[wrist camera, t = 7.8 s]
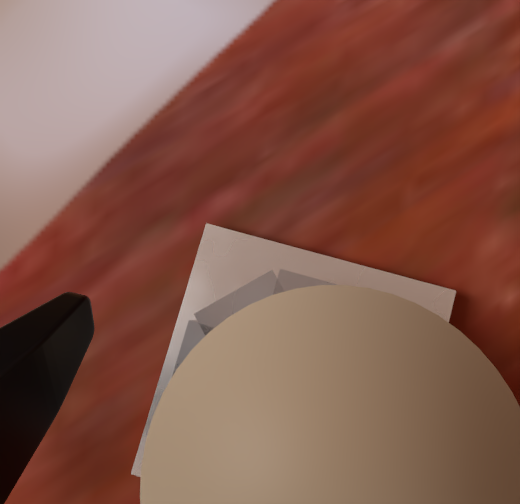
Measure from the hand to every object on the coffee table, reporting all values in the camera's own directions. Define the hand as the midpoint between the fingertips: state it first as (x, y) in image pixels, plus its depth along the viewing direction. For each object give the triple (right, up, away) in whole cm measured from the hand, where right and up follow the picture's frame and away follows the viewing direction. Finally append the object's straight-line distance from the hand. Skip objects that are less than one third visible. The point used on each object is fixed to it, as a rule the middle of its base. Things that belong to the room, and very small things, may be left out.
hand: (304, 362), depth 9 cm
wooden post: (0, -2, +8) cm, 8 cm away
